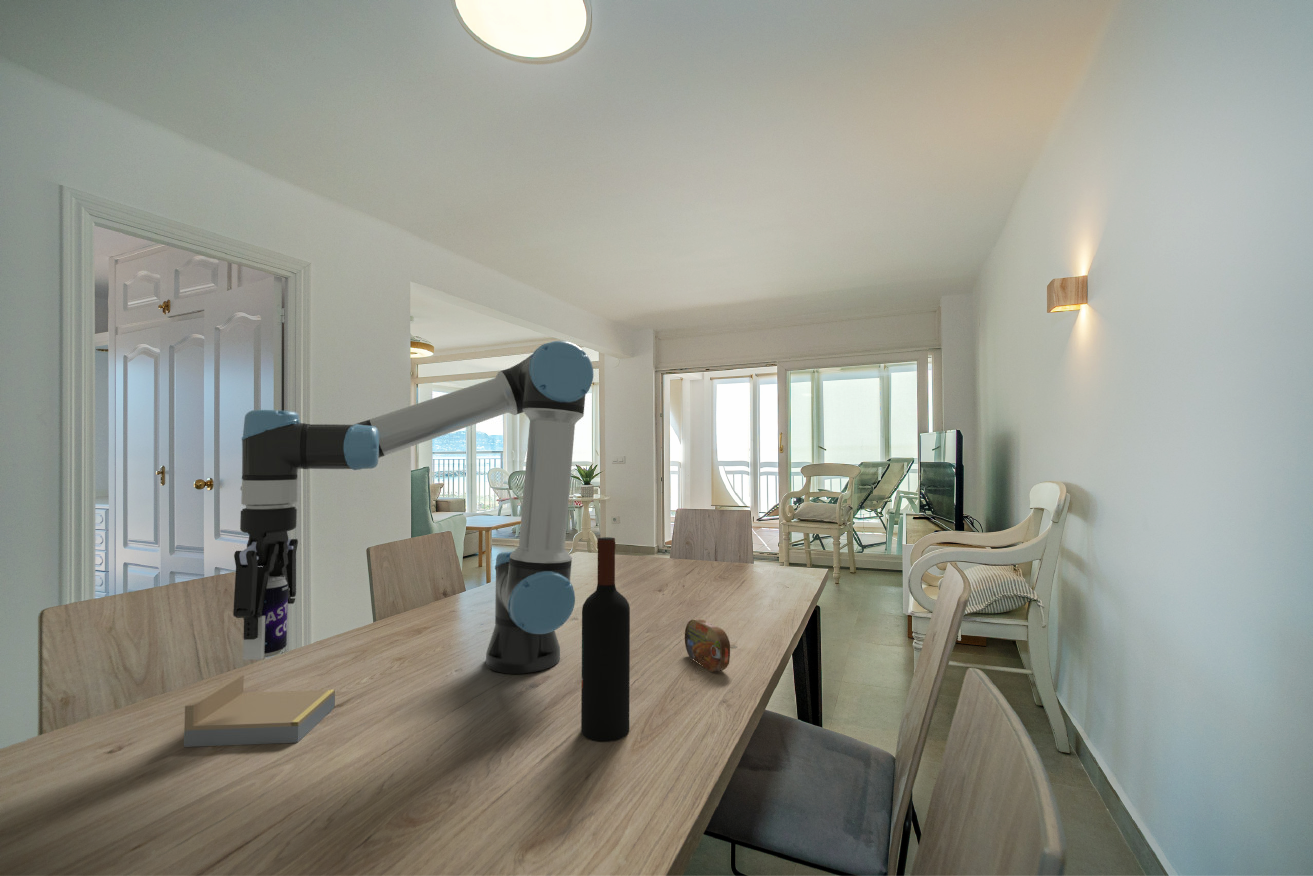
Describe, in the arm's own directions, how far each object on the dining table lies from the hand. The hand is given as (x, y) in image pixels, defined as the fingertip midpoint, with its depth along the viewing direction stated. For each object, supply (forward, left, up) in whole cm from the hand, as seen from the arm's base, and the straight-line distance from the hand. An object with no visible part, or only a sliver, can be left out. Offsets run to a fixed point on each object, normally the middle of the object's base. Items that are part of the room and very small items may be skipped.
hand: (265, 651), depth 93 cm
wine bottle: (-54, +6, -12) cm, 56 cm away
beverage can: (0, 0, -1) cm, 1 cm away
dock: (0, 0, -12) cm, 12 cm away
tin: (-75, -21, -12) cm, 79 cm away
